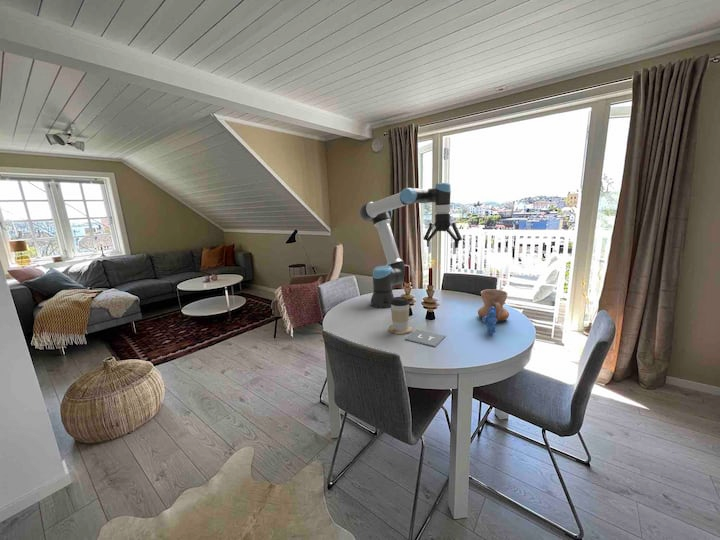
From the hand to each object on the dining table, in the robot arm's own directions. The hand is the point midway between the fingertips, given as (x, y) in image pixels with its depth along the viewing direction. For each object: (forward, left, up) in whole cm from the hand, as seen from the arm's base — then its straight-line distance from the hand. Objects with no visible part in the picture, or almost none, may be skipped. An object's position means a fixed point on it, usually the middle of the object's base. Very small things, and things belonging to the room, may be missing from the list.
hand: (442, 253), depth 158 cm
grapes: (+29, -17, -33) cm, 47 cm away
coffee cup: (-7, -35, -32) cm, 48 cm away
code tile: (+7, -38, -33) cm, 51 cm away
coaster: (-7, -35, -33) cm, 48 cm away
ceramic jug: (+27, +1, -33) cm, 43 cm away
